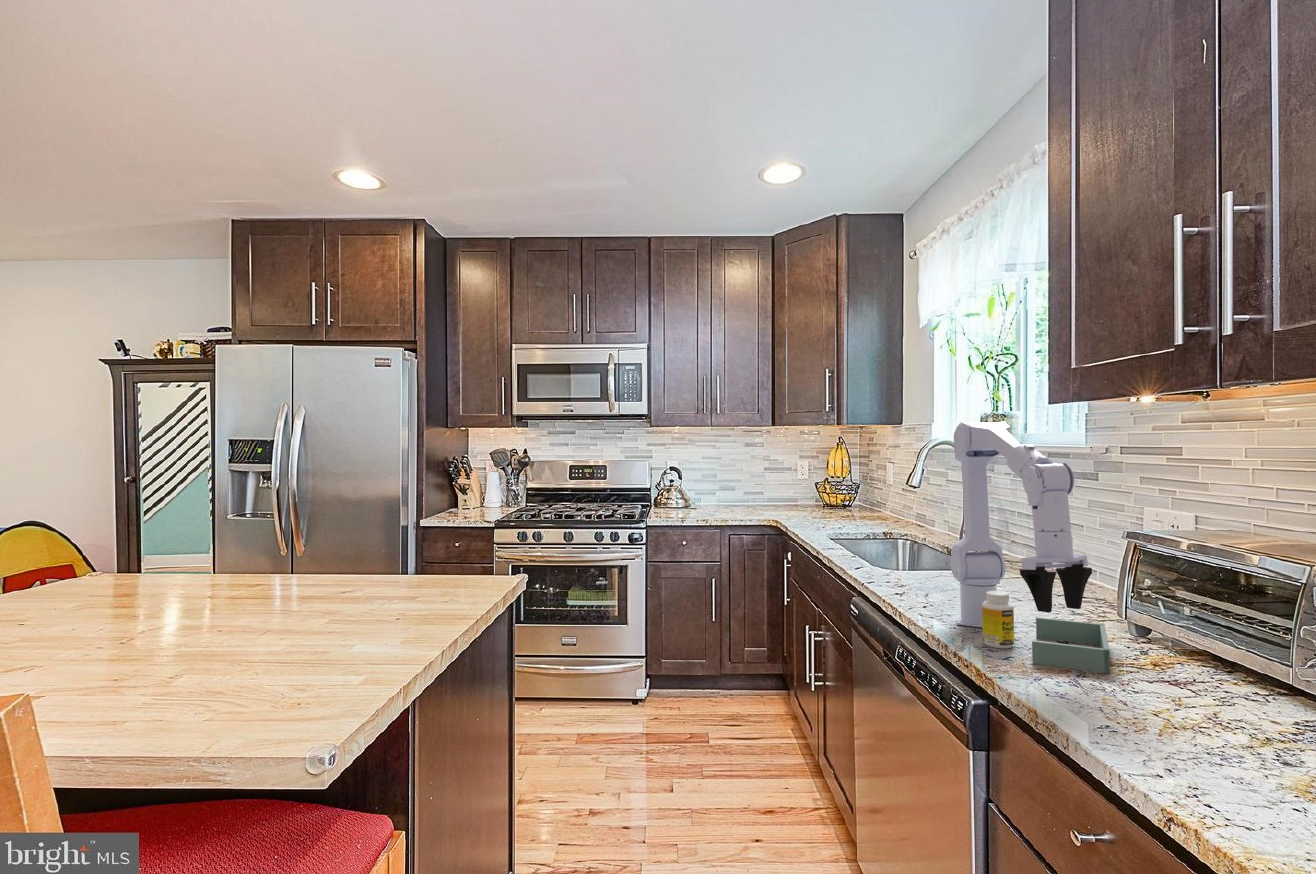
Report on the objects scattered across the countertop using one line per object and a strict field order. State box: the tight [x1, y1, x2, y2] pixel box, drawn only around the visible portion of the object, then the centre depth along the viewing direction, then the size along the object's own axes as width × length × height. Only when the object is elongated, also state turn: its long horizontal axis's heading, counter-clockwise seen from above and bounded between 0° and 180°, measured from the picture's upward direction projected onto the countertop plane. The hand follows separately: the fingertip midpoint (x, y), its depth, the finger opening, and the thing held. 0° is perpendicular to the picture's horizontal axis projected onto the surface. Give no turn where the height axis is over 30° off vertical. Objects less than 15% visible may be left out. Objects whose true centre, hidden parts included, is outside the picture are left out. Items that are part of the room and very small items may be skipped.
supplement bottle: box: [981, 590, 1015, 649], centre depth 133 cm, size 6×6×10 cm
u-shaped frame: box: [1031, 616, 1111, 675], centre depth 127 cm, size 19×12×4 cm, turn 149°
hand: (1059, 610), depth 118 cm, fingers open, 7 cm apart
